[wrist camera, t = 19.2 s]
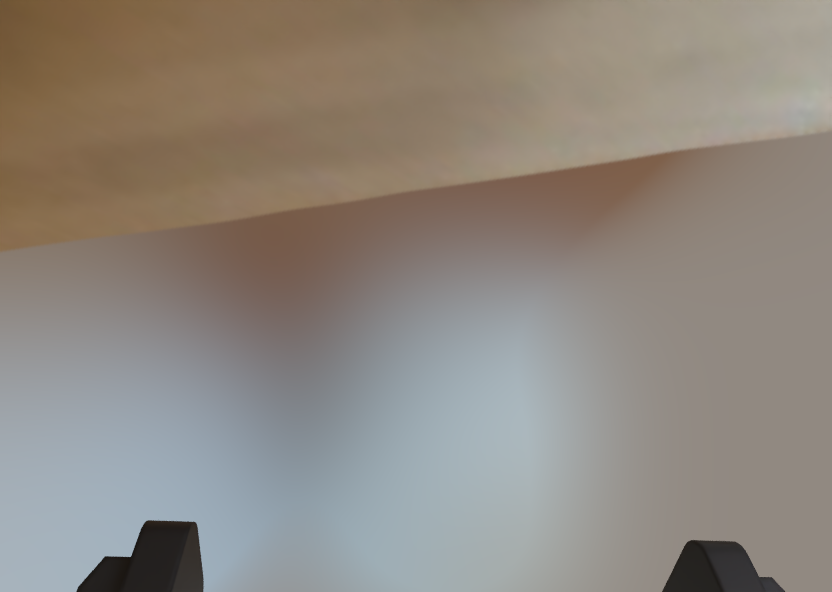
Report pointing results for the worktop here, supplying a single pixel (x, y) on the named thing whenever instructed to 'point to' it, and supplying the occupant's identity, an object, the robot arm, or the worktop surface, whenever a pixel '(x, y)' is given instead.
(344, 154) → the worktop surface
